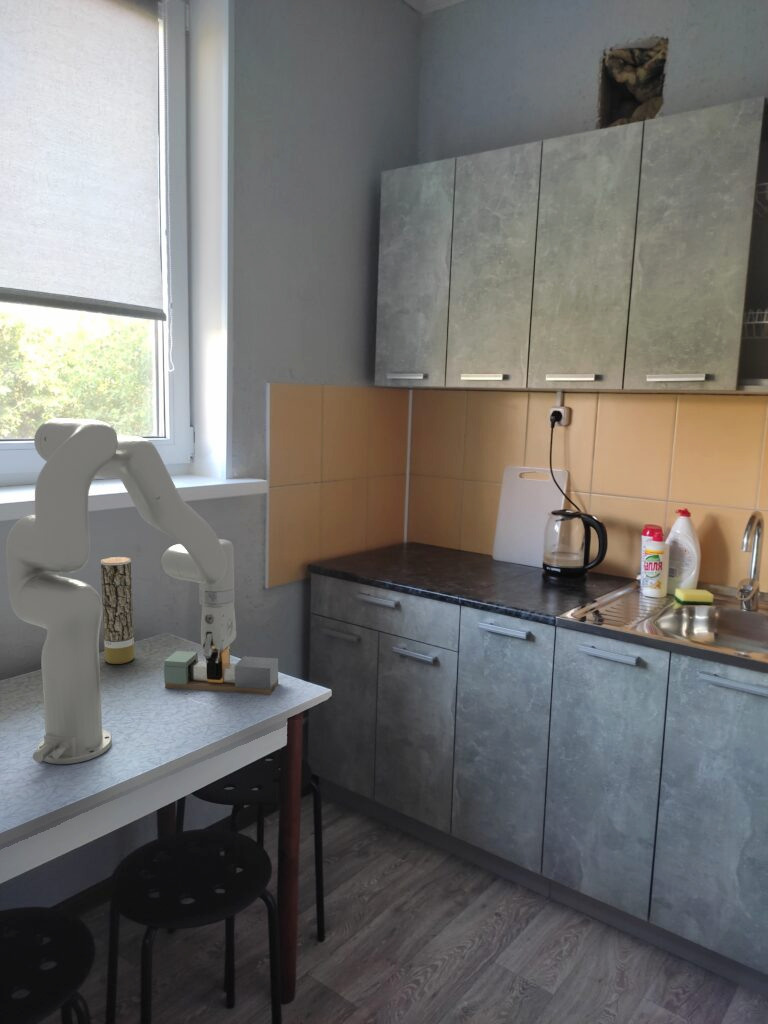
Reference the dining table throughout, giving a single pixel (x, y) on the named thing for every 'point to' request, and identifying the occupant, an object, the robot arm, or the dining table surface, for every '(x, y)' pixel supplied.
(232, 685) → the board
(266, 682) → the sleeve
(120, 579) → the brown bark cylinder
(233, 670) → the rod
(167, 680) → the socket
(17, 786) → the dining table surface
